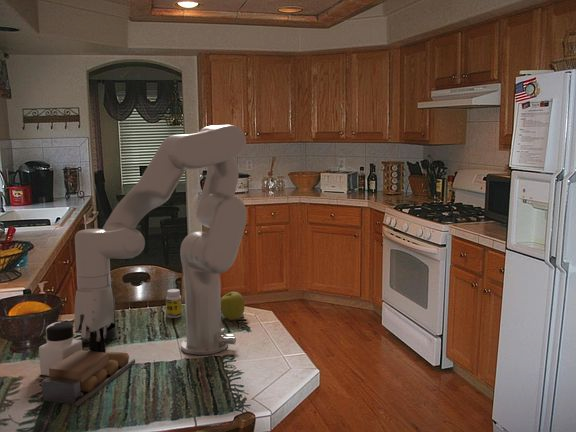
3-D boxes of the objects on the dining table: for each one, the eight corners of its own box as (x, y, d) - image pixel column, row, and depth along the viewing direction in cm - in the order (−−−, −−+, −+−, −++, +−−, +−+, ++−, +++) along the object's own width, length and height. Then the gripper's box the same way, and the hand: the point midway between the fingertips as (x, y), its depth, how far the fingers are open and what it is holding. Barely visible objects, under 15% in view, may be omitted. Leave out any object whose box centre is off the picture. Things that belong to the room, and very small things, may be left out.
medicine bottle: (84, 367, 139) (81, 320, 138) (64, 378, 133) (60, 330, 131) (60, 363, 142) (57, 318, 140) (40, 375, 135) (36, 327, 133)
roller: (56, 389, 125) (58, 373, 126) (65, 388, 129) (67, 373, 130) (87, 393, 124) (90, 376, 124) (96, 391, 127) (98, 376, 128)
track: (135, 362, 142) (134, 349, 141) (77, 406, 119) (76, 390, 118) (100, 359, 144) (99, 346, 144) (37, 401, 121) (36, 385, 121)
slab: (109, 363, 132) (108, 352, 132) (81, 382, 121) (80, 371, 121) (79, 360, 134) (79, 350, 134) (49, 379, 123) (48, 368, 123)
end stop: (80, 400, 121) (79, 380, 121) (75, 404, 120) (74, 384, 119) (49, 396, 123) (47, 377, 123) (43, 400, 121) (41, 381, 121)
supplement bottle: (164, 317, 177) (163, 292, 176) (170, 313, 182) (169, 288, 181) (178, 318, 176) (177, 292, 175) (184, 313, 181) (183, 288, 180)
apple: (250, 311, 180) (246, 284, 176) (240, 325, 173) (235, 298, 169) (228, 308, 182) (223, 282, 178) (217, 323, 176) (212, 296, 172)
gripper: (98, 273, 140) (101, 343, 143) (60, 288, 126) (64, 365, 128) (125, 274, 138) (128, 345, 141) (89, 290, 124) (93, 369, 127)
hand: (98, 355), depth 135 cm, fingers closed
